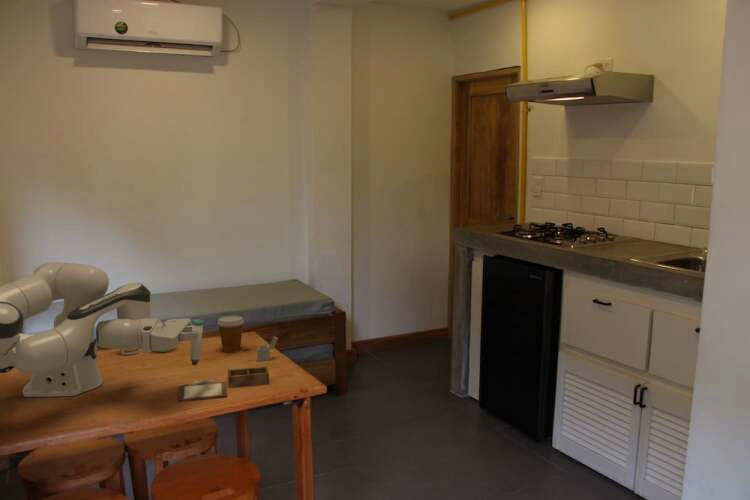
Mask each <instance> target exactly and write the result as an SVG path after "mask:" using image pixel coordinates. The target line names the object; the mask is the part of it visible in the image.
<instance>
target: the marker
mask: <svg viewBox="0 0 750 500" xmlns="http://www.w3.org/2000/svg"><path fill="white" fill-rule="evenodd" d="M191 325H192V332H194V331H195V332H196V331H197V332H199V337H198V338H197V339H190V353H189V354H190V355H189V359H190V361H191V365H192V366H197V365H198V362H200V359H201V358H202V356H201V355H202V341H203V327H204V320H203V319H199V318H194V319H191Z"/></svg>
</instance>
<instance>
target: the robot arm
mask: <svg viewBox="0 0 750 500" xmlns="http://www.w3.org/2000/svg"><path fill="white" fill-rule="evenodd" d="M109 285H110V282H109V276H108V275H107V272H106V271H105V270H103V269H101V268H99V267H96V266H93V265H90V264H82V263H74V262H73V263H71V262H60V261H53V262H46V263H42V264H40V265H38V266H37V267H35V269H34V270H33V272H32V274H31V275H29V276H26V277H22V278H20V279H18V280H15V281H12V282H9V283H5V284H3V285H1V286H0V374H6V373H9V372H10V371H12V370H13V369H14V368H15V369H16V370H17V371H18V373H21V374H23V375H30V380H29V382H27V383H26V385H24V387H23V388H22V396H23V397H24V398H40V397H41V398H45V397H47V398H48V397H49V398H50V397H75V396H78V395H80V394H82V393H85V392H88V391H92V390H93V389H96V388H98V387H99V386H101V385H102V384H103V382H104V380H103V377H102V375H101V372H100V368H99V365H98V359H97V357H98V346H99V347H100V348H105V349H113V350H114V349H115V350H120V349H129V348H133V347H135V348H139V350H140V349H141V350H142V353H145V354H149V353H152V352H157V351H164V350H171V351H173V350H175V349H177V348H178V346H179V345H180V344H181V342H182V341H184V342H185V341H188V340H191V339H197V338H198V337H199V332H197V331H196V332H195V331H194V332H192V319H191V318H188V317H187V318H184V317H183V318H170V319H167V320H165V321H164V322H162V321H161V319H160V318H156V317H155V318H154V317H153V318H152V317H151V316H152V315H151V291H150V290H149V289H148V287H146V286H145V285H144V284H142V283H139V282H133V283H128V284H124V285H121V286H119V287H118V288H116V289H115V290H113V291H111V292H109V293H107V292H108V290H109ZM106 293H107V294H106ZM59 300H63V307H62V311H61V312H60V313H58V314H57V315H55V317H54V320H53V328H50V329H47V330H43V331H40V332H37V333H34V334H33V333H30V334H27V333H22V330H23V329H24V321H25V320H27V319H30V318H33V317H34V316H37V315H39V314H41V313H44V312H46V311H47V310H49V309H50V307H51V305H52V303H53V302H54V301H59ZM113 310H116V318H115V319H114V318H113V319H107V320H100V321H98V319H99V318H100V317H101V316H103V315H104V314H107V313H109V312H111V311H113ZM97 321H98V323H97ZM96 323H97V325H96ZM95 326H96V329H95ZM95 330H96V332H95ZM95 337H96V338H95Z"/></svg>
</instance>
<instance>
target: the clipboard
mask: <svg viewBox="0 0 750 500" xmlns="http://www.w3.org/2000/svg"><path fill="white" fill-rule="evenodd" d="M178 390H179V392H178V399H177V401H178V402H179V403H181V402H192V401H200V400H201V401H203V400H211V399H222V398H228V391H227V381H226V380H225V381H224V380H223V381H214V380H213V379H205V380H195V381H192V383H191V384H190V383H189V384H180V385H179V389H178Z"/></svg>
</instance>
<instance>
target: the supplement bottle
mask: <svg viewBox="0 0 750 500" xmlns="http://www.w3.org/2000/svg"><path fill="white" fill-rule="evenodd" d="M119 353H120V354H121V355H123V356H131V355H136V354H138V353H140V349H139V348H135V347H133V348H129V349H119Z"/></svg>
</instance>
